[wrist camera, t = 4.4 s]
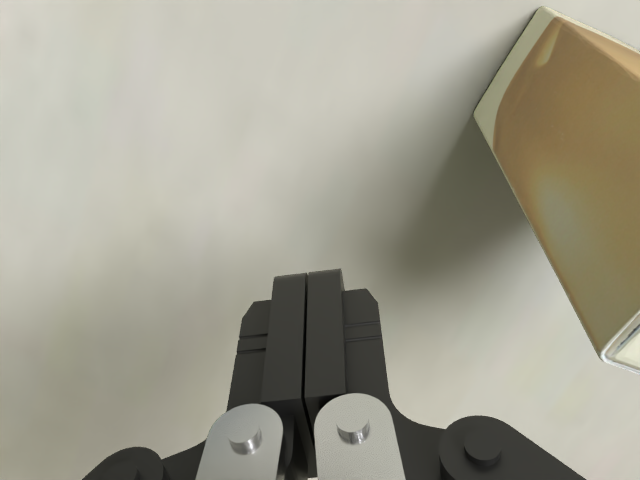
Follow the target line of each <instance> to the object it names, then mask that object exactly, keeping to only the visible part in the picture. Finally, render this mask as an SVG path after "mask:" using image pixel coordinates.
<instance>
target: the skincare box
mask: <svg viewBox="0 0 640 480" xmlns="http://www.w3.org/2000/svg"><path fill="white" fill-rule="evenodd" d="M474 118H475V120H476V122H477V124H478V126H479V128H480V130H481V132H482V134H483V136H484V137H485V139H486V141H487V143H488V145H489V147H490V149H491V151H492V153H493V155H494V157H495V158H496V160H497V162H498V164H499V166H500V168H501V170H502V172H503V174H504V176H505V178H506V179H507V181H508V183H509V185H510V187H511V189H512V191H513V193H514V195H515V197H516V199H517V201H518V203H519V205H520V207H521V208H522V210H523V212H524V214H525V216H526V218H527V220H528V222H529V224H530V226H531V228H532V230H533V232H534V233H535V235H536V237H537V239H538V241H539V243H540V245H541V247H542V248H543V250H544V252H545V254H546V256H547V258H548V260H549V262H550V264H551V266H552V267H553V269H554V271H555V273H556V275H557V277H558V279H559V281H560V283H561V285H562V287H563V289H564V291H565V293H566V295H567V297H568V298H569V300H570V302H571V304H572V306H573V308H574V310H575V312H576V314H577V316H578V318H579V320H580V322H581V324H582V326H583V328H584V330H585V332H586V333H587V335H588V337H589V339H590V341H591V343H592V345H593V347H594V349H595V351H596V353H597V355H598V356H599V358H600V359H601V360H602V361H604V362H605V363H608V364H611V365H614V366H617V367H620V368H623V369H625V370H628V371H631V372H633V373H636V374H638V375H640V51H638V50H636V49H635V48H633V47H631V46H629V45H627V44H625V43H623V42H621V41H619V40H617V39H615V38H613V37H611V36H609V35H607V34H605V33H603V32H600V31H598V30H596V29H594V28H592V27H589V26H587V25H585V24H583V23H581V22H578V21H576V20H574V19H572V18H570V17H567V16H565V15H563V14H561V13H559V12H556V11H554V10H552V9H550V8H548V7H545V6H541V7H540V8H539V9H538V10H537V11H536V13H535V15H534V16H533V18H532V19H531V21H530V22H529V24H528V26H527V27H526V29H525V30H524V32H523V33H522V35H521V36H520V38H519V39H518V41H517V42H516V44H515V46H514V47H513V49H512V50H511V52H510V53H509V55H508V56H507V58H506V60H505V61H504V63H503V64H502V66H501V68H500V69H499V71H498V72H497V74H496V76H495V77H494V79H493V81H492V82H491V84H490V86H489V87H488V89H487V91H486V92H485V94H484V95H483V97H482V99H481V100H480V102H479V104H478V106H477V107H476V109H475V111H474Z"/></svg>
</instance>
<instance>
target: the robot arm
mask: <svg viewBox="0 0 640 480" xmlns="http://www.w3.org/2000/svg"><path fill="white" fill-rule="evenodd" d="M239 338H240V340H239V341H238V347H237V355H236V359H235V364H234V370H233V376H232V382H231V388H230V394H229V400H228V406H227V411H226V413H224V414H223V415H222V416H221V417H219V418H218V419H217V420H216V422H215V423H214V424H213V426H212V427H211V429H210V431H209V434H208V436H207V439H206V440H205V441H203V442H202V443H200V444H198V445H197V446H194V447H192V448H190V449H188V450H185V451H183V452H180V453H177V454H175V455H172V456H170V457H167V458H165V459H162V460H161V459H160V457H159V455H158V454H157V453H155V452H154V451H152V450H151V449H148V448H144V447H131V448H126V449H123V450H120V451H118V452H116V453H114V454H112V455H111V456H109V457H107V458H106V459H105V460H104V461H102V462H101V463H100V464H99V465H98V466H97V467H95V468H94V469H93V470H92V471H91V472H90V473H89V474H88V475H86V476H85V477H84V478H83V479H82V480H307V479H308V478H314V477H318V480H586V479H585V478H583V477H582V476H580V475H579V474H577V473H576V472H575V471H573V470H572V469H570V468H569V467H568V466H566V465H565V464H563V463H562V462H560V461H559V460H558V459H556V458H555V457H553V456H552V455H551V454H549V453H548V452H546V451H545V450H544V449H542V448H541V447H539V446H538V445H536V444H535V443H534V442H532V441H531V440H529V439H528V438H527V437H525V436H524V435H522V434H521V433H519V432H518V431H517V430H515V429H514V428H512V427H511V426H510V425H508V424H506V423H505V422H503V421H500V420H498V419H496V418H492V417H488V416H469V417H465V418H461V419H459V420H457V421H455V422H453V423H452V424H451V425H449V426H448V427H447V429H441V428H435V427H430V426H426V425H422V424H418V423H416V422H413V421H411V420H410V419H408V418H406V417H405V416H404V415H402V414H401V413H400V412H399V411H398V410H397V409H396V407H395V406H394V404H393V403H392V401H391V398H390V394H389V388H388V381H387V373H386V365H385V357H384V349H383V341H382V333H381V325H380V317H379V309H378V303H377V301H376V300H375V299H374V298H373V296H372V295H371V294H370V292H369V291H368V290H367V289H358V290H349V291H345V289H344V283H343V277H342V272H341V269H334V270H325V271H317V272H309V274H307V273H302V274H293V275H285V276H277V277H275V278H274V282H273V291H272V300H265V301H256V302H254V303H253V304H252V305H251V307H250V308H249V310H248V311H247V313H246V314H245V315H244V317H243V318H242V323H241V329H240V335H239Z"/></svg>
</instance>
